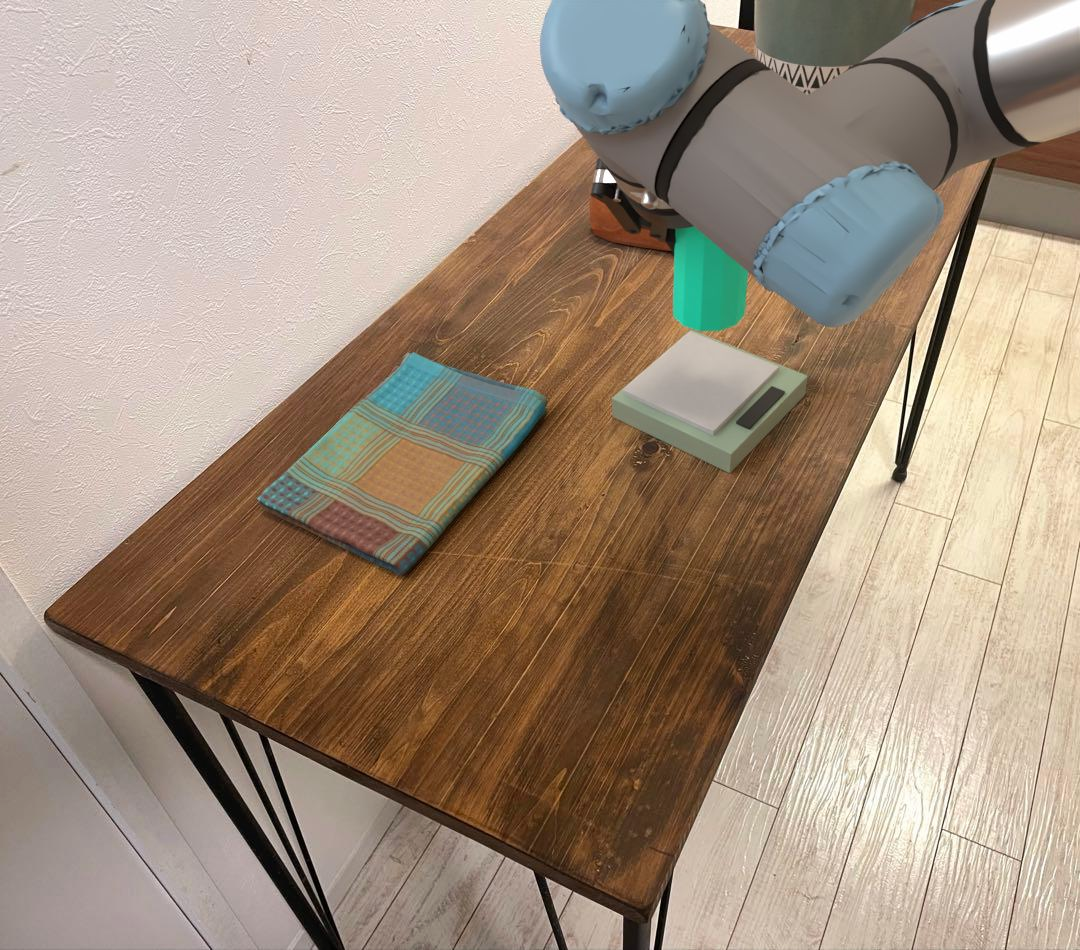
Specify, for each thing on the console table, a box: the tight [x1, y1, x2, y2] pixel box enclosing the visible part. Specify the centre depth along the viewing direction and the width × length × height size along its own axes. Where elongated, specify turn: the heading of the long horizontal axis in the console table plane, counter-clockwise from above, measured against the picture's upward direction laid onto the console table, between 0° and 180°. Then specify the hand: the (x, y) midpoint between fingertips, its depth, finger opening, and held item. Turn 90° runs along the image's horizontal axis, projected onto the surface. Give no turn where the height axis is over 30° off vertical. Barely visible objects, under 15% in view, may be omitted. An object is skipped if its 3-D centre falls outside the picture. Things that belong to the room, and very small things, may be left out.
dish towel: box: [257, 352, 549, 577], centre depth 84 cm, size 17×23×2 cm
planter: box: [753, 0, 918, 95], centre depth 118 cm, size 20×20×21 cm
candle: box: [672, 226, 749, 332], centre depth 72 cm, size 6×6×12 cm
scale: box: [611, 329, 809, 474], centre depth 86 cm, size 13×13×3 cm
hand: (720, 249), depth 76 cm, fingers closed on candle, 5 cm apart
